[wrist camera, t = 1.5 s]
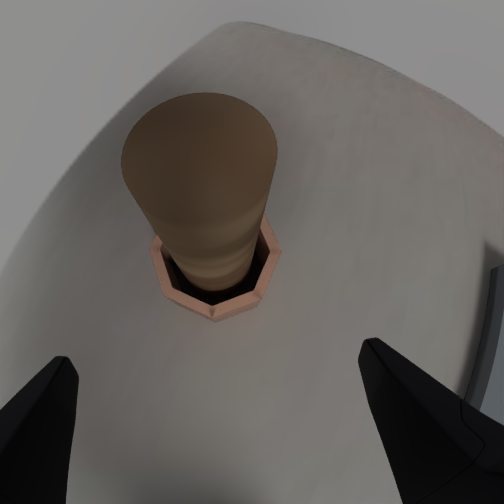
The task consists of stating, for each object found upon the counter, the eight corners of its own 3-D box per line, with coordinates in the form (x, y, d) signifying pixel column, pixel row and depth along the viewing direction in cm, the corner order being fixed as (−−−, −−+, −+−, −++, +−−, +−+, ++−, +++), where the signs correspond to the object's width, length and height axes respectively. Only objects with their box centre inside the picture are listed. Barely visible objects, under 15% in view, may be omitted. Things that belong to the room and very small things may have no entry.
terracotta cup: (244, 334, 20) (247, 333, 17) (149, 291, 21) (133, 279, 17) (283, 242, 22) (294, 221, 19) (194, 204, 23) (187, 178, 19)
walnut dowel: (233, 309, 21) (237, 247, 7) (175, 282, 21) (93, 185, 8) (259, 251, 22) (298, 119, 9) (202, 227, 22) (171, 80, 9)
